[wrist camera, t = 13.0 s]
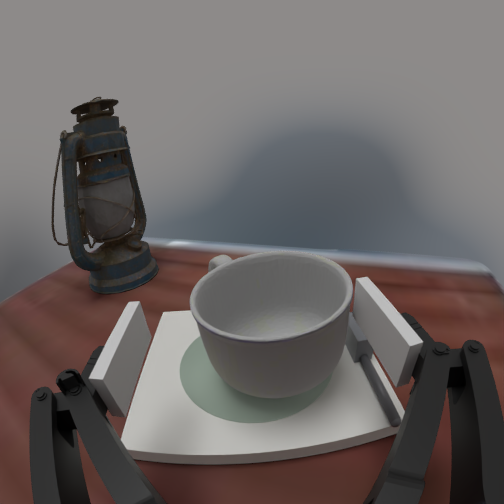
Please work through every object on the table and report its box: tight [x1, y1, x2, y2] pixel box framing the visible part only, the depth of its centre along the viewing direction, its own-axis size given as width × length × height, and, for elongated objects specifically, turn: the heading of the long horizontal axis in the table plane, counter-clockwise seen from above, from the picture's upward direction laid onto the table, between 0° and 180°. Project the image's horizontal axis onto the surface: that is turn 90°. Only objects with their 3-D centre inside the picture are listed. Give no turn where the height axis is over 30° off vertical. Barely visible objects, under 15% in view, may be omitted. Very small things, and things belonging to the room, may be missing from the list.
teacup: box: [190, 251, 353, 398], centre depth 21 cm, size 14×11×8 cm
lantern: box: [52, 97, 159, 294], centre depth 40 cm, size 19×14×30 cm
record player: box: [121, 310, 405, 464], centre depth 22 cm, size 20×18×4 cm
